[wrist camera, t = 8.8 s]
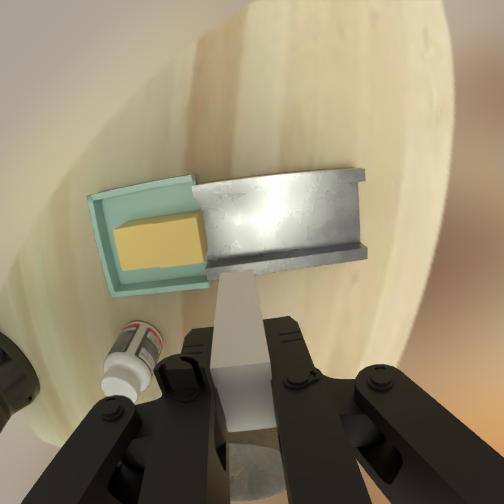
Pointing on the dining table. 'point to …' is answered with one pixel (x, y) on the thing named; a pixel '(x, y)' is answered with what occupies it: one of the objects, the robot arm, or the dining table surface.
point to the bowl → (254, 465)
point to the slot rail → (281, 220)
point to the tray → (137, 207)
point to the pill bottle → (132, 361)
